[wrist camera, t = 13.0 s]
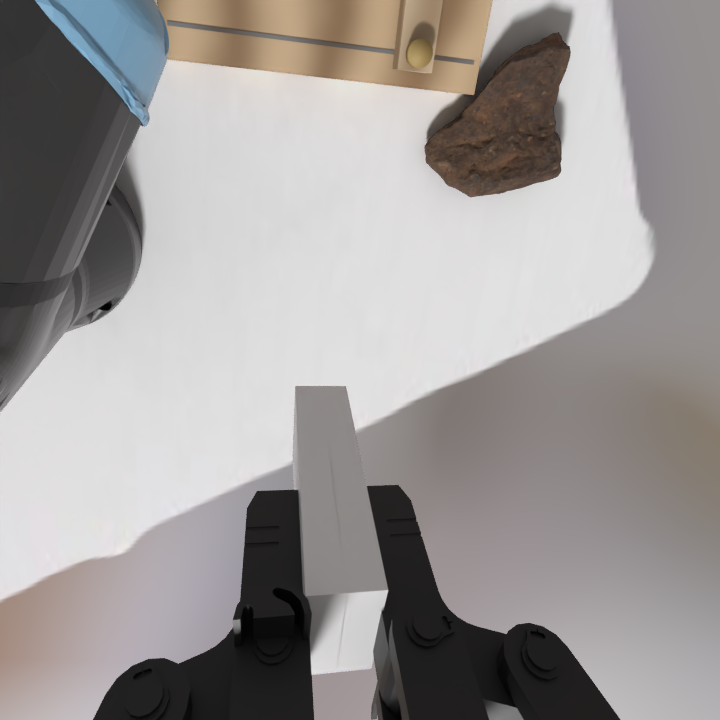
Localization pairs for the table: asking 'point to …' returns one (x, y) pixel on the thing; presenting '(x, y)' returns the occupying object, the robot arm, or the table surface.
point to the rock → (506, 126)
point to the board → (326, 39)
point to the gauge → (417, 35)
